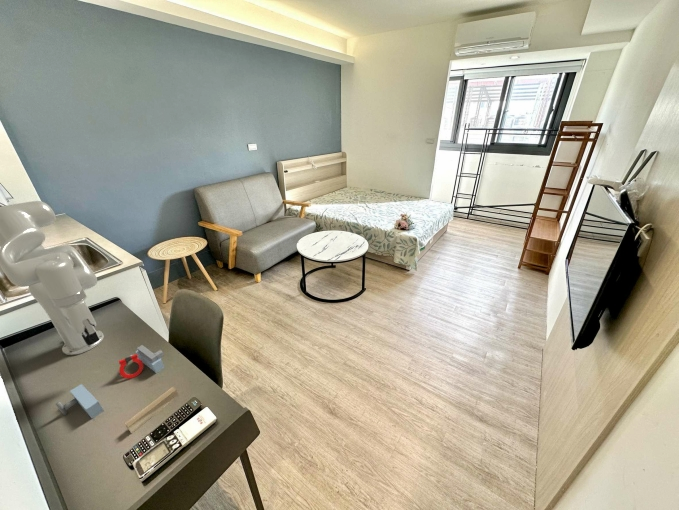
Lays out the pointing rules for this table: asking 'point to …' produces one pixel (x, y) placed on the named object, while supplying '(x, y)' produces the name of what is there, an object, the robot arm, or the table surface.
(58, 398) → the table surface
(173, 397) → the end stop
